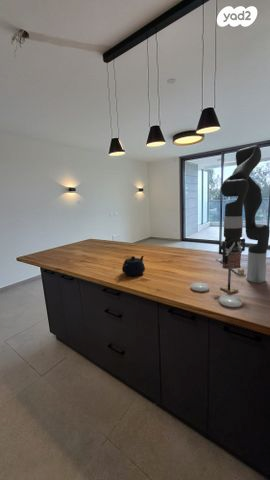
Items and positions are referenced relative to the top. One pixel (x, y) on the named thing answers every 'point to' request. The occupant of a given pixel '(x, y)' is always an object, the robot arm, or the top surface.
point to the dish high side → (199, 286)
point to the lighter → (233, 259)
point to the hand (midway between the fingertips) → (231, 262)
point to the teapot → (133, 266)
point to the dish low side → (230, 301)
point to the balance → (228, 288)
